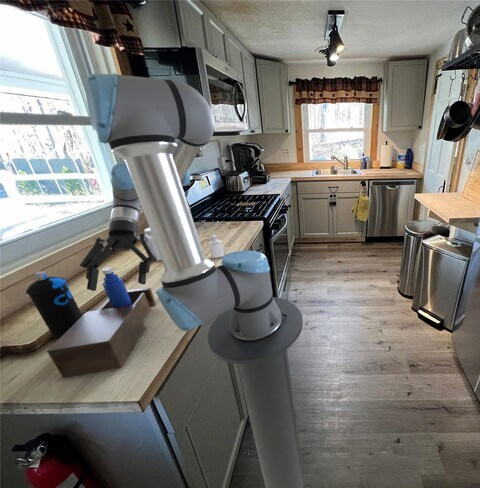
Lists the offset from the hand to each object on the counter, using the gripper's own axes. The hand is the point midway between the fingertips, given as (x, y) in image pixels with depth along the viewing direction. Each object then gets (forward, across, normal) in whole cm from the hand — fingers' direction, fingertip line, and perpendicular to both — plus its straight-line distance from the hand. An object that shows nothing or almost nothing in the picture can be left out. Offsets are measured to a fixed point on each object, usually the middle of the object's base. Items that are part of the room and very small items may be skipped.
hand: (116, 286), depth 78 cm
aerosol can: (+9, +17, -9) cm, 21 cm away
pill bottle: (-26, +8, -44) cm, 51 cm away
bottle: (+8, 0, -7) cm, 11 cm away
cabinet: (+18, 0, 0) cm, 18 cm away
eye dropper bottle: (-21, -20, -39) cm, 48 cm away
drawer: (+8, 0, -9) cm, 12 cm away
